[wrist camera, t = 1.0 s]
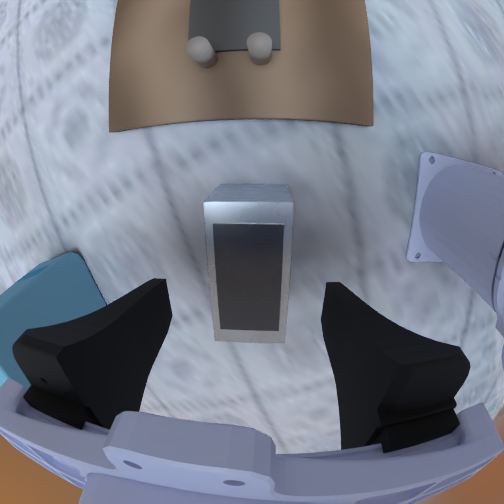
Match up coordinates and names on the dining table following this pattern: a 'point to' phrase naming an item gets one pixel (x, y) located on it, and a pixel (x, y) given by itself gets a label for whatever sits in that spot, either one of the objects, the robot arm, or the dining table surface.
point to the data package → (44, 304)
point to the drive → (249, 260)
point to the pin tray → (239, 62)
